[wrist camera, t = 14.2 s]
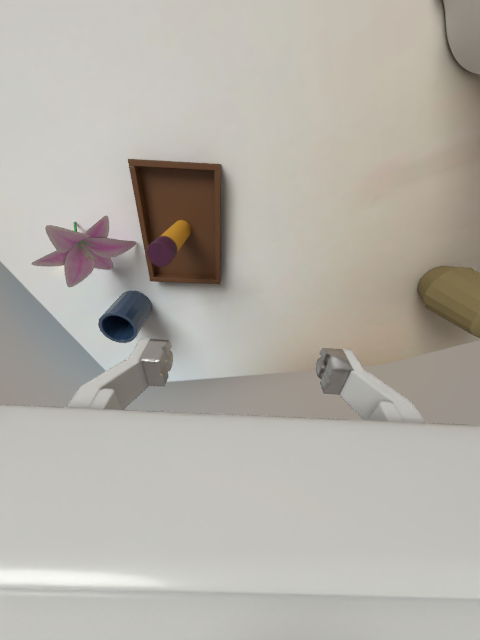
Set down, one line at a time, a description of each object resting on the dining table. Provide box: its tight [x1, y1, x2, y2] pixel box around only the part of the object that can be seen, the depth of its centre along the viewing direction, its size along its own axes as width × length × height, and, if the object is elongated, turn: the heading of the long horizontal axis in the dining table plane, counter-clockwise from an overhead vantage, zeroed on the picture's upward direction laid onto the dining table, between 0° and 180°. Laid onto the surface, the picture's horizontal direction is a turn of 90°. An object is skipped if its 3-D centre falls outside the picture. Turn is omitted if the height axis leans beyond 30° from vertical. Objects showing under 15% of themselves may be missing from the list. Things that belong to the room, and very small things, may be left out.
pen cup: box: [98, 291, 152, 343], centre depth 39 cm, size 6×6×8 cm
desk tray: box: [128, 159, 221, 284], centre depth 34 cm, size 16×11×2 cm
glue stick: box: [147, 220, 191, 267], centre depth 29 cm, size 3×3×12 cm
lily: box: [32, 216, 136, 287], centre depth 33 cm, size 12×12×10 cm
